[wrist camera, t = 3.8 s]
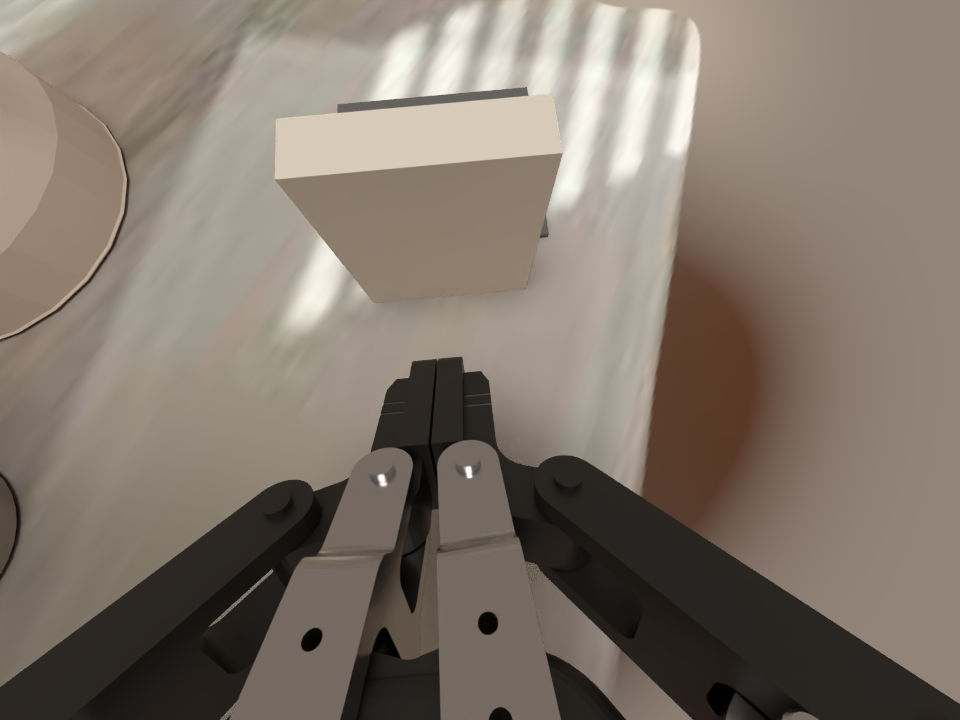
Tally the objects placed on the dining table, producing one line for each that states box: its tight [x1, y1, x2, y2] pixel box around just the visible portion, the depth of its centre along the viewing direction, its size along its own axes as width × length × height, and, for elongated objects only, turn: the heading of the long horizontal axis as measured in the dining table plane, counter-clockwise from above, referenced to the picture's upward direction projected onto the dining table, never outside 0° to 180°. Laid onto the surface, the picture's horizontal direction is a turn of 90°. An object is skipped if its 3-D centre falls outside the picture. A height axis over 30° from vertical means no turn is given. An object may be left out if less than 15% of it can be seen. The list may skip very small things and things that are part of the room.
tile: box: [275, 94, 563, 303], centre depth 19 cm, size 3×10×12 cm, turn 96°
